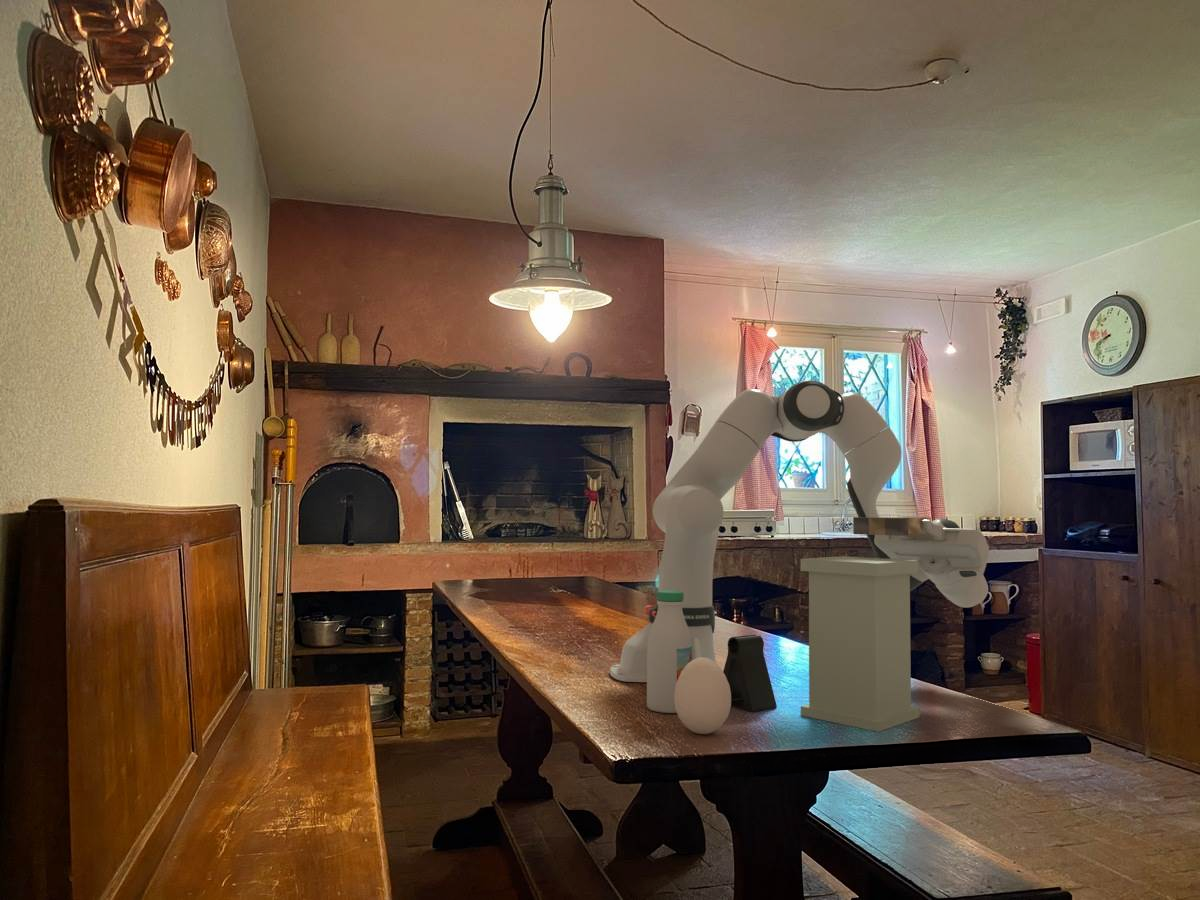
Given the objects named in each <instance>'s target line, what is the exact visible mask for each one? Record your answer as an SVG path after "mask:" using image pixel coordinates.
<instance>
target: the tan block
mask: <svg viewBox="0 0 1200 900" xmlns="http://www.w3.org/2000/svg"><path fill="white" fill-rule="evenodd" d="M852 519H853V525H852V526H853V527H852V529H853V535H865V536H867V535H895V536H906V535H908V534H926V533H928V532H923V531H922V529H921V528H920V524H921V520H930V521H931V522H932V516H894V517H893V516H892V517H891V516H889V517H887V516H885V517H884V516H883V517H881V516H879V517H858V516H853V517H852Z"/></svg>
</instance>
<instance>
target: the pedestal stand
mask: <svg viewBox="0 0 1200 900" xmlns="http://www.w3.org/2000/svg"><path fill="white" fill-rule="evenodd" d="M800 572H808V704H804V705H801V706H800V716H802V717H806V718H812V719H816V720H820V721H825V722H831V723H835V724H840V725H845V726H848V727H849V726H850V727H854V728H859V729H863V730H867V731H874V732H877V733H878V732H882V731H885V730H888V729H891V728H893V727H896V726H899V725H902V724H906V723H908V722H910V721H913V720H916V719H919V718H920V716H921V715H920V712H921V711H920V707H917V706H916V707H915V706H912V689H911V688H912V684H911V683H912V680H911V679H912V677H911V676H912V674H911V668H912V667H911V666H912V664H911V661H912V660H911V658H912V657H911V591H910V573H917V572H918V560H901V559H883V558H876V557H862V556H848V555H847V556H845V555H843V556H840V555H839V556H827V557H811V558H809V557H808V558H800Z"/></svg>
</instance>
